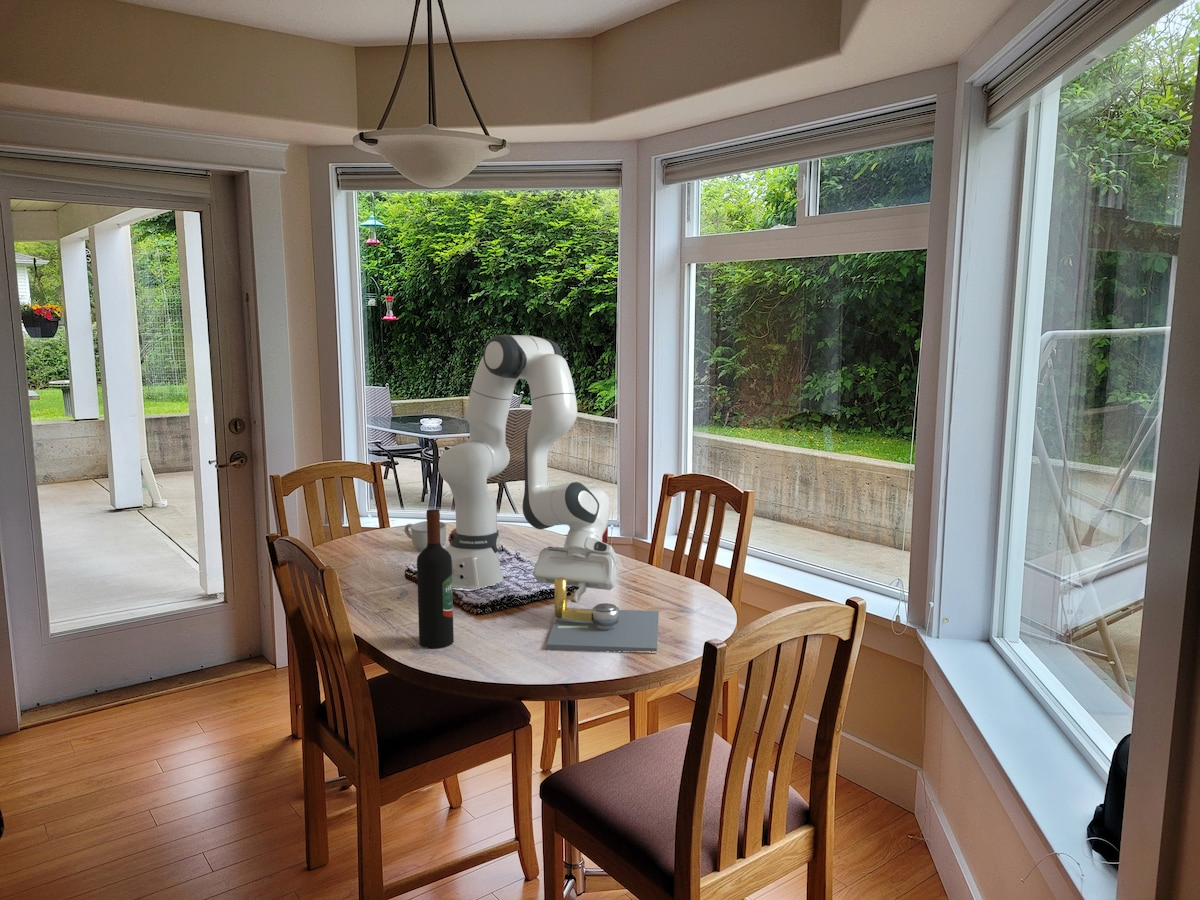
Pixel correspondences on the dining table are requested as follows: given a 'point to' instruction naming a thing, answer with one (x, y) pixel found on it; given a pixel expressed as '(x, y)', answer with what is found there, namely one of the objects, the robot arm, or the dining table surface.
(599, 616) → the door handle
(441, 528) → the teacup
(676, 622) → the dining table surface
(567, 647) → the base
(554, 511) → the robot arm
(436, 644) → the wine bottle
